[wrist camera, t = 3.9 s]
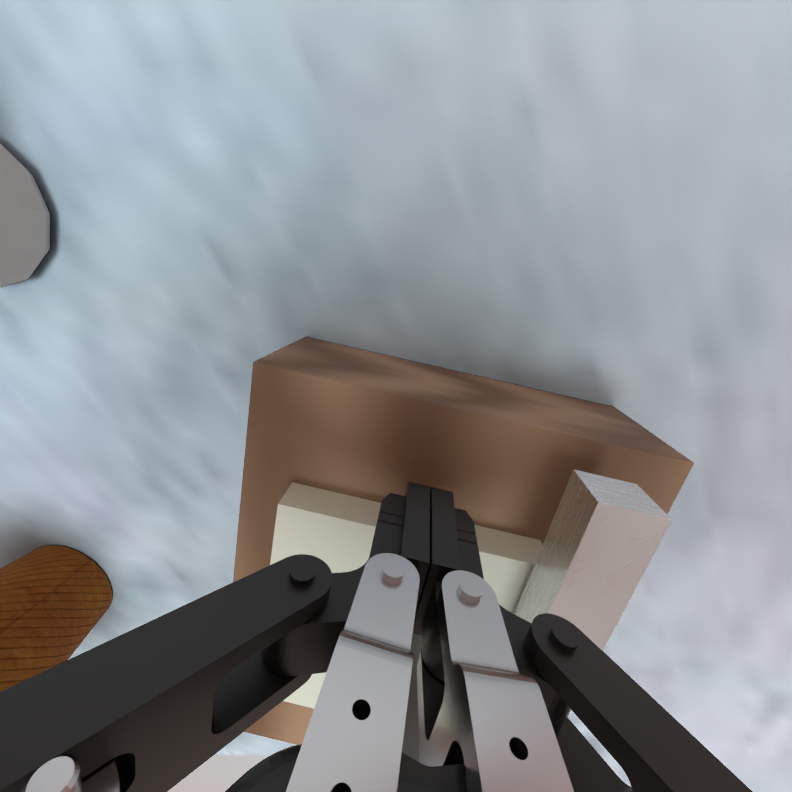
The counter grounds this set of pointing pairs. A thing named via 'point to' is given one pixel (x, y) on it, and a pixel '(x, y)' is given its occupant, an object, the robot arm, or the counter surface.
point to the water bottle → (20, 221)
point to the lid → (350, 548)
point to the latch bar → (594, 554)
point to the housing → (424, 450)
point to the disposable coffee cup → (47, 610)
